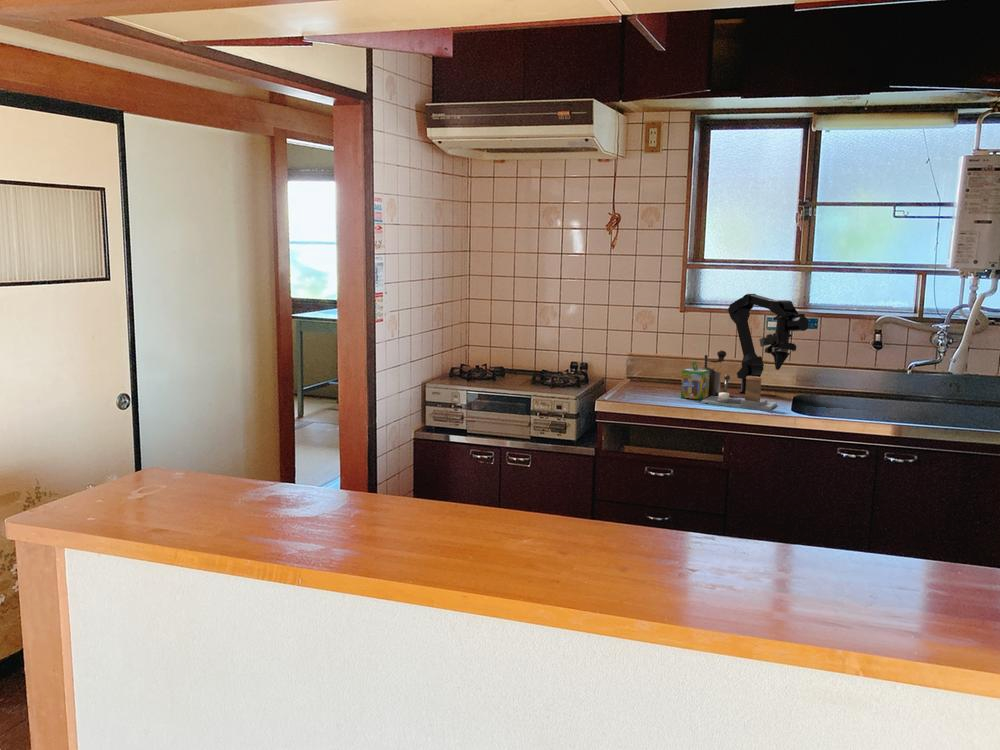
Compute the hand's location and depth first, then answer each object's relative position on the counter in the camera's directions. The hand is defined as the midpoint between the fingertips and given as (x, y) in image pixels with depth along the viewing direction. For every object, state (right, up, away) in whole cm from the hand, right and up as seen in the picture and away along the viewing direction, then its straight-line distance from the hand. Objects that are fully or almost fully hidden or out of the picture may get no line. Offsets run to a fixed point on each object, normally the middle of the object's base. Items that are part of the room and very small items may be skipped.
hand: (777, 369), depth 341 cm
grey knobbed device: (-24, -10, +18) cm, 31 cm away
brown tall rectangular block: (-14, -13, -13) cm, 23 cm away
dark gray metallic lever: (-22, -10, -2) cm, 24 cm away
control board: (-17, -14, -6) cm, 23 cm away
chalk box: (-32, -12, +6) cm, 34 cm away
